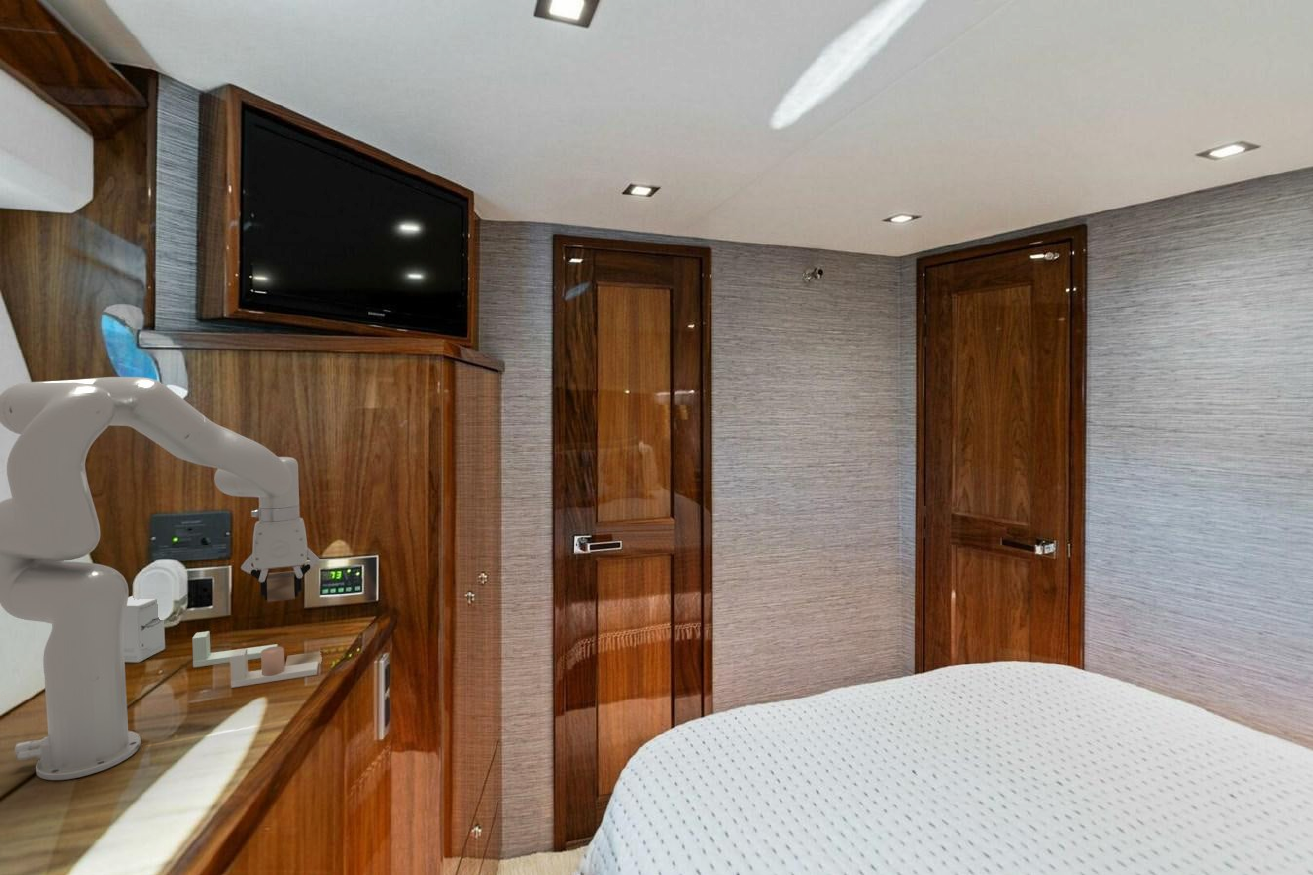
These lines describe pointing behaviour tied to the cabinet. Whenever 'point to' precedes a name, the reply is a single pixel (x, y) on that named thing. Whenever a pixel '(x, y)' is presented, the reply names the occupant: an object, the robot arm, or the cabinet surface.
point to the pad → (303, 658)
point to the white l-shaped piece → (206, 658)
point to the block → (280, 586)
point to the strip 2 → (244, 678)
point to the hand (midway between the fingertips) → (282, 595)
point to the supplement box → (142, 630)
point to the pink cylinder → (272, 661)
